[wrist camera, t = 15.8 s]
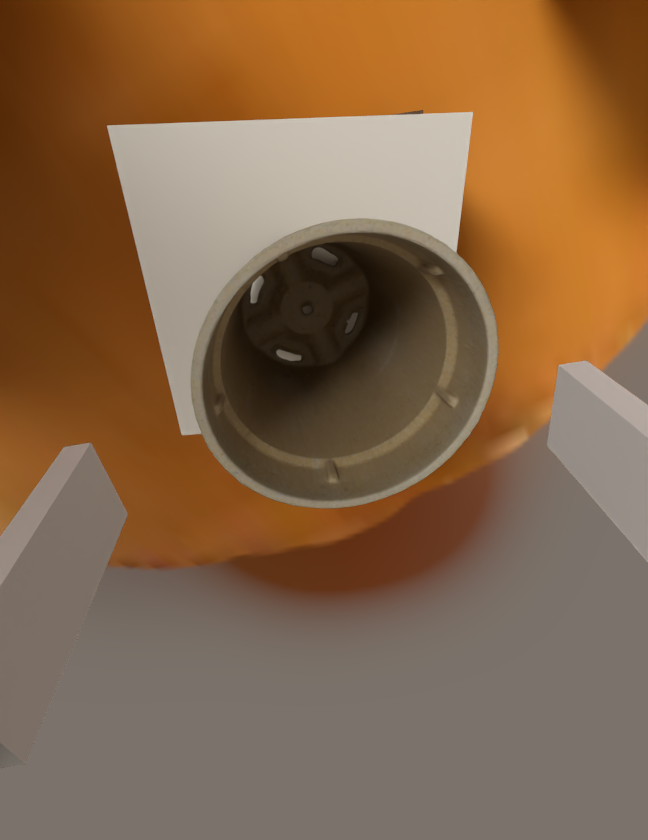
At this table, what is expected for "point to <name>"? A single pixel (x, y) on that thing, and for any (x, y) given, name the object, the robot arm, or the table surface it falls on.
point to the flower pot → (344, 364)
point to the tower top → (271, 202)
